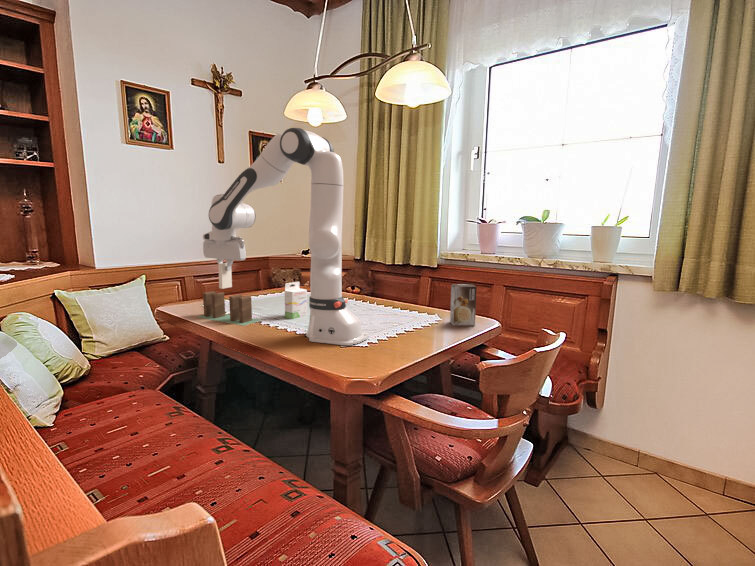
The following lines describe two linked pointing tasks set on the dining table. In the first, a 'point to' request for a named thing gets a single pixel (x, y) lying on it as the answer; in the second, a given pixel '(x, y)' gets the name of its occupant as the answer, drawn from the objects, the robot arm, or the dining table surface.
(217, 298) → the domino
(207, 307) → the domino
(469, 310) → the coffee box
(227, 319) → the felt mat
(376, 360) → the dining table surface
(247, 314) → the domino
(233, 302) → the domino
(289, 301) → the ink box
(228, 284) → the ivory domino
